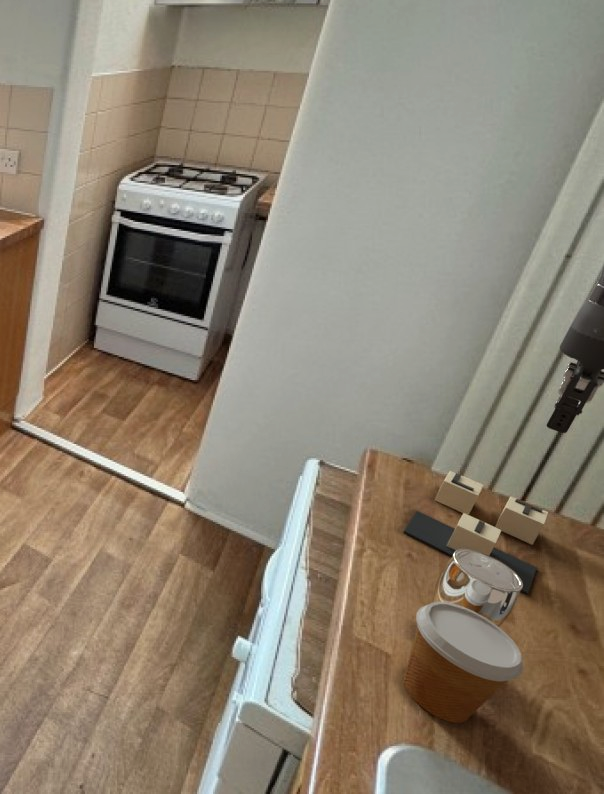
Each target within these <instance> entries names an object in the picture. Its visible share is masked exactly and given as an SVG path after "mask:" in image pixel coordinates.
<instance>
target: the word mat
mask: <svg viewBox="0 0 604 794" xmlns="http://www.w3.org/2000/svg"><path fill="white" fill-rule="evenodd" d="M454 530H455V527H452V526H451V525H448V524H446V523H445V522H442V521H440V520H437V519H436V518H434V517H431V516H429V515H427V514H425V513H423V512H421V511H418V510H416V511H415V513H414V514H413V515H412V517H411V519H410V521H409V522H408V524H407V525H406V527H405V528H404V530H403V534H406V535H408V536H409V537H411V538H414V539H415V540H417V541H419V542H421V543H423V544H425V545H426V546H429V547H431V548H433V549H435V550H437V551H439V552H441V553H443V554H445V555H447V556H448V557H450V558H451V557H452V556H453V554H454V552H455V551H456V550H454V549H452V548H450V547H448V546H447V544H448V542H449V540H450V538H451V536H452V534H453V532H454ZM489 556H491V557H493V558H495V559H497V560H498V561H500V562H502V563H503V564H505V565H506V566H508V567H509V568H510V569H512V570H513V571H514V572H515V573H516V574H517V575H518V576H519V577H520V579H521V581H522V583H523V587H522V589H521V591H520V593H523V594H525V595H529V593H530V590H531V587H532V584H533V581H534V578H535V575H536V572H537V570H538V568H537V566H535V565H532V564H530V563H529V562H526V561H524V560H522V559H519V558H517V557H515V556H513V555H511V554H509V553H507V552H505V551H503V550H502V549H501V550H500V549H499V548H496V547H494V548H493V550H492V552H491V553H490V555H489Z"/></svg>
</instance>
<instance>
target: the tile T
mask: <svg viewBox="0 0 604 794" xmlns="http://www.w3.org/2000/svg"><path fill="white" fill-rule="evenodd" d="M548 514H549V512H548V511H546V510H544V509H542V508H540V507H537V506H535V505H532V504H530V503H528V502H525V501H523V500H521V499H519V498H516V497H513V496H510V497H509V498H508V500H507V501H506V504H505V506H504V508H503V510H502V511H501V513H500V515H499V517H498V519H497V521H496V524H495V526H494V527H496V528H498V529H500V530H501V532H503V533H505V534H507V535H510V536H511V537H514V538H515V539H516V538H517V539H518V540H520V541H523V542H525V543H527V544H529V545H532V546H533V545H534V544H535V541H536V540H537V538H538V536H539V535H540V533H541V531H542V529H543V527H544V526H545V523H546V521H547V518H548Z"/></svg>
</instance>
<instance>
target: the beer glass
mask: <svg viewBox="0 0 604 794" xmlns="http://www.w3.org/2000/svg"><path fill="white" fill-rule="evenodd" d="M522 587H523V583H522V581H521V579H520V577H519V576H518V575H517V574H516V573H515V572H514V571H513V570H512V569H510V568H509V567H508V566H506V565H505V564H503V563H502V562H500V561H498V560H497V559H495V558H493V557H491V556H488V555H486V554H484V553H481V552H478V551H474V550H469V549H459V550H456V551H455V552H454V554H453V556H452V557H451V556H450V558H449V560H448V561H447V563H446V564H445V565H444V567H443V569H442V570H441V572H440V573H439V576H438V578H437V580H436V584H435V587H434V592H433V596H432V597H433V598H432V603H433V602H448V603H452V604H456V605H459V606H462V607H465V608H467V609H469V610H472V611H474V612H476V613H478V614H480V615H481V616H483V617H485V618H486V619H488V620H490V621H491V622H492V623H494V624H495V625H496V626H498V627H499V628H500V626H501V625H503V624H504V623H505V621H506V620H507V619H508V617H509V616H510V614H511V613H512V611H513V609H514V607H515V606H516V603H517V602H518V601H517V600H518V598H519V595H520V594H521V589H522Z"/></svg>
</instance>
